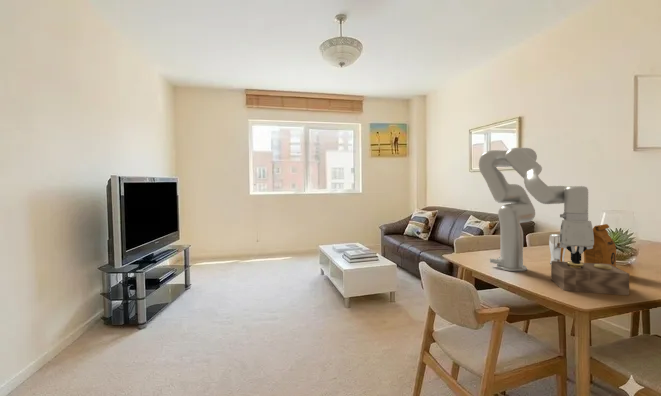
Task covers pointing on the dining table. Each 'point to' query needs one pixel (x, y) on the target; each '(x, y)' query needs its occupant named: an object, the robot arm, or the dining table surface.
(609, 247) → the coffee package
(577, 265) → the brass peg
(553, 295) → the dining table surface
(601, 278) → the walnut block
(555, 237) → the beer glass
